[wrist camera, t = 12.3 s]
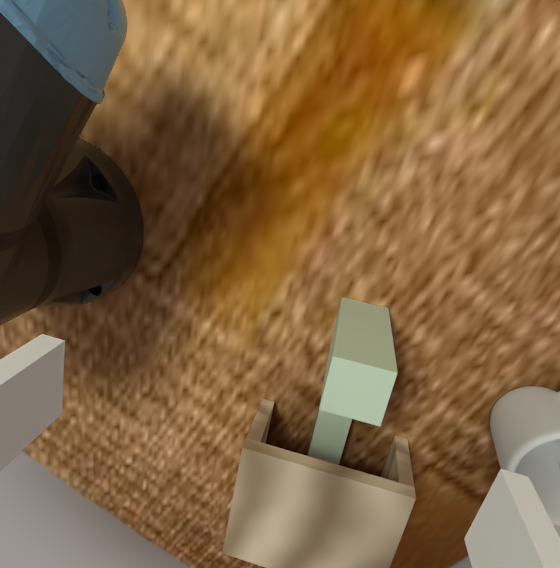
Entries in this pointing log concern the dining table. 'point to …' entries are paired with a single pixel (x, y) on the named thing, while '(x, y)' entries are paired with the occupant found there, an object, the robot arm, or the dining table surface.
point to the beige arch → (316, 507)
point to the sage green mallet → (354, 376)
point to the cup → (531, 440)
